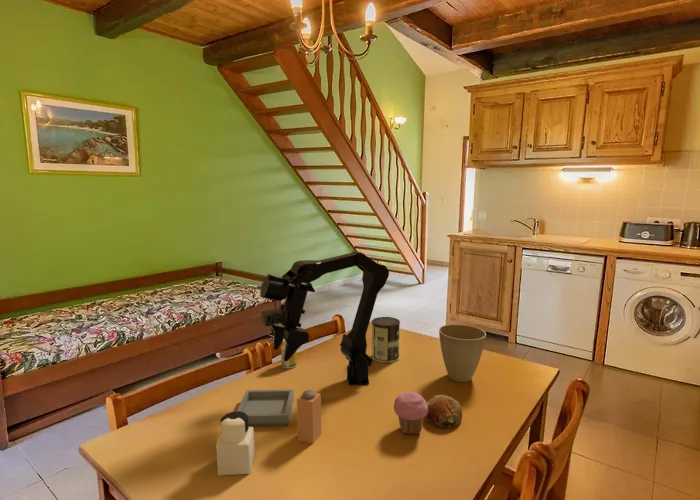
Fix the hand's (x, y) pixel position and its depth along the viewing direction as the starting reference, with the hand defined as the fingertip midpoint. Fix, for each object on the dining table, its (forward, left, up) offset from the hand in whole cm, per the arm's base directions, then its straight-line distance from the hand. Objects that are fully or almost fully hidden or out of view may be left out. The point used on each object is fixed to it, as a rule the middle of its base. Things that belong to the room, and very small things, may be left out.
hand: (280, 355), depth 119 cm
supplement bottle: (0, -24, -14) cm, 28 cm away
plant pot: (-58, -13, -14) cm, 61 cm away
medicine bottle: (+6, +28, -14) cm, 32 cm away
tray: (+3, +6, -14) cm, 16 cm away
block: (-10, +18, -14) cm, 25 cm away
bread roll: (-46, +11, -14) cm, 49 cm away
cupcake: (-36, +16, -14) cm, 42 cm away
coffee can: (-35, -30, -14) cm, 48 cm away
